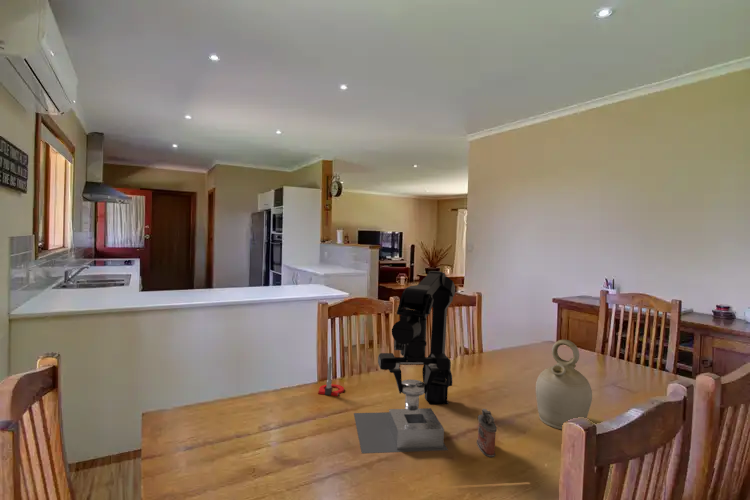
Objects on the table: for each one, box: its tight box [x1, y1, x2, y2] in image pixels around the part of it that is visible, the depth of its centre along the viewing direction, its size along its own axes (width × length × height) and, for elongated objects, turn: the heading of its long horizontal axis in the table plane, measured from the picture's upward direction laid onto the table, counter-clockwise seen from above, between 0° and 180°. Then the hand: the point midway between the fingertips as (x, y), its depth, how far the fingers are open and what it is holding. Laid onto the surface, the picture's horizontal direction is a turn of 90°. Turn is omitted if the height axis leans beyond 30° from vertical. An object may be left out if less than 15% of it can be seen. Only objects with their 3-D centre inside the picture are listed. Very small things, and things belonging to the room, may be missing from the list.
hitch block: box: [388, 407, 445, 450], centre depth 109 cm, size 12×12×5 cm
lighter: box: [476, 408, 498, 458], centre depth 104 cm, size 8×3×10 cm, turn 5°
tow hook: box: [318, 356, 345, 397], centre depth 138 cm, size 8×13×9 cm
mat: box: [353, 411, 449, 454], centre depth 112 cm, size 22×22×1 cm
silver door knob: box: [401, 379, 425, 411], centre depth 109 cm, size 6×6×6 cm
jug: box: [535, 339, 593, 431], centre depth 122 cm, size 15×16×25 cm
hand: (412, 392), depth 109 cm, fingers closed on silver door knob, 6 cm apart
